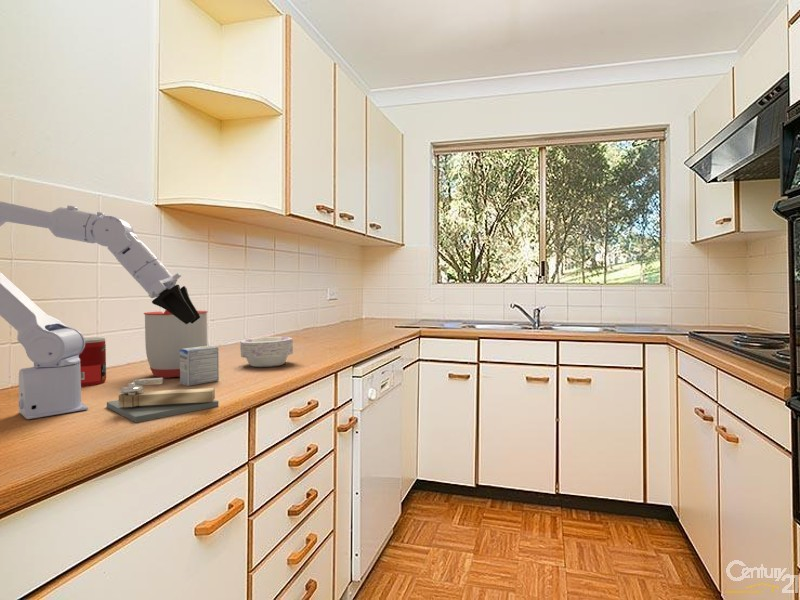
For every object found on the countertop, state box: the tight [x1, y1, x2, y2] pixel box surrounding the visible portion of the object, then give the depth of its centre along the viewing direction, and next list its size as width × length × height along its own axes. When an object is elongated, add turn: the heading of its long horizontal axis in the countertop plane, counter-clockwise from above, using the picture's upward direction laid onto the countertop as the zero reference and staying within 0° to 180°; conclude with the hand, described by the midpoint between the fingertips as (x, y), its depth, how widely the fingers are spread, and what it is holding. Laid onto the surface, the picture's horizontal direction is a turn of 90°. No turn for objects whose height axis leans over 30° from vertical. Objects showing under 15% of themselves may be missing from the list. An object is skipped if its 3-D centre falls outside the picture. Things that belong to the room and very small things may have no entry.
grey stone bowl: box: [239, 336, 294, 368], centre depth 142 cm, size 15×15×8 cm
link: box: [118, 387, 216, 407], centre depth 90 cm, size 16×4×2 cm, turn 102°
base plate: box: [106, 399, 219, 423], centre depth 93 cm, size 15×16×1 cm
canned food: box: [79, 337, 107, 387], centre depth 116 cm, size 8×8×11 cm
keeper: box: [132, 377, 164, 392], centre depth 95 cm, size 2×5×5 cm, turn 109°
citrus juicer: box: [143, 309, 209, 379], centre depth 128 cm, size 16×17×20 cm
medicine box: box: [179, 345, 220, 387], centre depth 116 cm, size 8×4×9 cm, turn 141°
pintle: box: [120, 382, 142, 408], centre depth 89 cm, size 4×4×6 cm
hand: (193, 320), depth 95 cm, fingers open, 7 cm apart
